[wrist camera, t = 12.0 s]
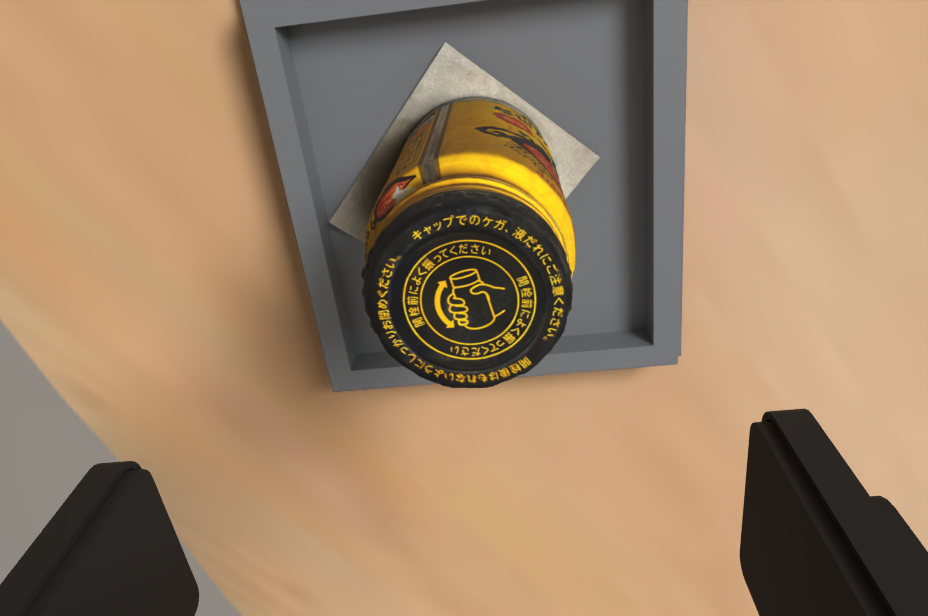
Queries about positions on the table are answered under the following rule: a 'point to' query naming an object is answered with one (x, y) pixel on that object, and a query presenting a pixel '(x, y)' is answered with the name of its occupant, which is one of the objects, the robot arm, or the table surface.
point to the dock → (543, 87)
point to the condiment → (467, 229)
